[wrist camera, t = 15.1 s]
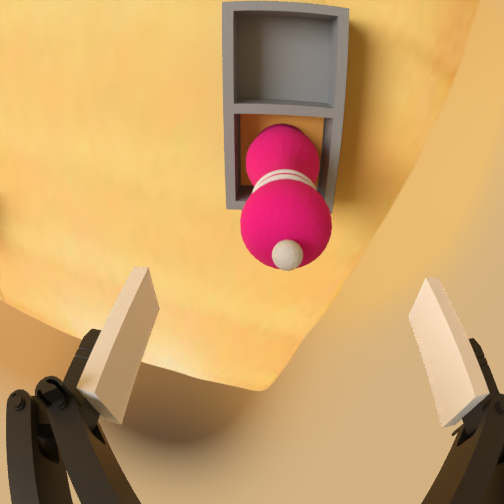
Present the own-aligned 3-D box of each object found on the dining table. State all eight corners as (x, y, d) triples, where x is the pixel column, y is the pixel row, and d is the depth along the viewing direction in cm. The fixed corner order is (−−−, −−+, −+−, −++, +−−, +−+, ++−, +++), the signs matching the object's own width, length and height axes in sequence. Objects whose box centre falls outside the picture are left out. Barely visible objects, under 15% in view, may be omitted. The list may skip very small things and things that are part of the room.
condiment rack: (232, 193, 38) (226, 212, 34) (229, 10, 25) (222, 2, 21) (325, 197, 37) (331, 216, 33) (338, 15, 24) (349, 8, 20)
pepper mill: (235, 144, 33) (195, 254, 17) (287, 105, 30) (304, 178, 14) (276, 190, 36) (275, 324, 20) (326, 156, 33) (373, 273, 17)
